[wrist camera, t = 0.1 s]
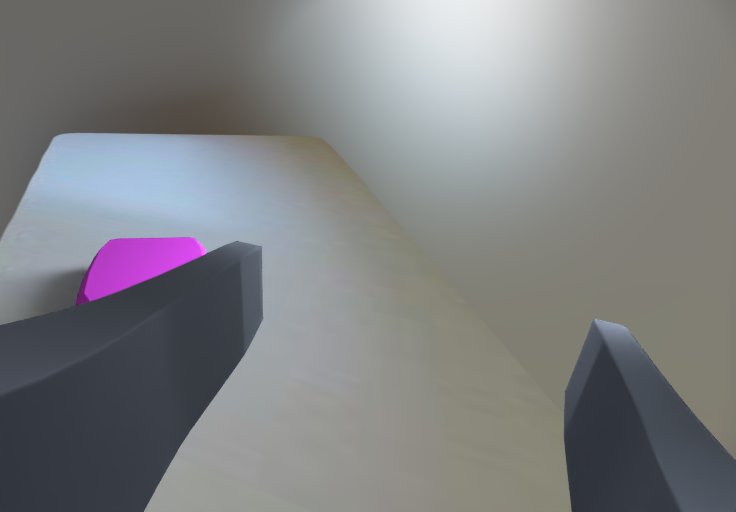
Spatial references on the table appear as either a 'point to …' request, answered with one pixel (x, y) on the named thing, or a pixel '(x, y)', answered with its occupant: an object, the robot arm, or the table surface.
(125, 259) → the spray bottle
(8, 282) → the table surface
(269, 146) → the table surface
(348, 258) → the table surface
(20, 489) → the robot arm
